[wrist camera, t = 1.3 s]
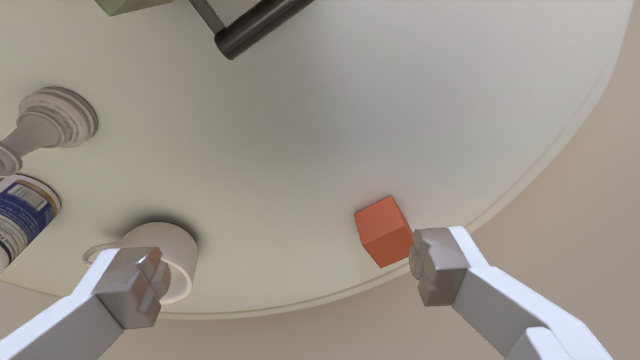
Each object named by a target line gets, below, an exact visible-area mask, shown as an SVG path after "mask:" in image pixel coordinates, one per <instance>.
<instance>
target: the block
mask: <svg viewBox="0 0 640 360" xmlns="http://www.w3.org/2000/svg"><path fill="white" fill-rule="evenodd" d="M354 216H355V220H356V224H357V228H358V232H359V236H360V240H361V244H362V246H363V247H364V248H365V249H366V251H367V252H368V253H369V254H370V256H371V257H372V258H373V259H374V261H375V262H376V263H377V265H378V266H379V267H380V268H383V267H385V266H388V265H390V264H392V263H395V262H397V261H399V260H402V259H404V258H406V257H409V255H408V254H409V248H410V247H411V246H412V245H413V244H414V242H413V239H412V235H413V233H412V231H411V229H410V227H409V225H408V222H407V220H406V219H405V217H404V215H403V214H402V212H401V210H400V209H399V207H398V205H397V204H396V202H395V200H394V199H393V197H392V196H389V197H387V198H385V199H383V200H381V201H379V202H377V203H375V204H373V205H371V206H369V207H367V208H365V209H363V210H361V211H359V212H357V213H355V214H354Z"/></svg>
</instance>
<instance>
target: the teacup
mask: <svg viewBox="0 0 640 360" xmlns="http://www.w3.org/2000/svg"><path fill="white" fill-rule="evenodd" d="M133 247H159V248H160V250H161V252H162V254H163V255H162V257H161V260H163V261H164V262H166V263H168V266H169V268H170V272H171V281H170V286H169V289H168V291H167V293H166V294H165V295H164V296H163V297H162V298H161V299H160V300H159V301H160V303H161V305H166V304H171V303H175V302H178V301H180V300H182V299H183V298H185V297H186V296H187V295H188V294H189V293H190V291H191V288H192V284H193V279H194V275H195V270H196V265H197V255H198V250H197V246H196V243H195V241H194V240H193V238H192V237H191V235H190V234H189V233H188V232H186V231H185V230H184V229H182V228H181V227H179V226H176V225H174V224H170V223H165V222H152V223H147V224H143V225H140V226H138V227H136V228H134V229H133V230H131V231H130V232H128V233H127V234H126V235H125V236H124V237H123V238H122V239H121V240H120V241H119V242H113V243H107V244H102V245H98V246H95V247H92V248H90V249H89V250H87V251H86V252H85V254H84V255H83V259H82V261H83V264H84V265H85V266H86V267H87V268H90V267H91V265H92V264H93V263H94V262H90V261H88V259H89V257H90V256H91V255H92V254H93V253H95V252H97V251H100V250H105V249H115V248H133Z"/></svg>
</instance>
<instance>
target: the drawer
mask: <svg viewBox="0 0 640 360" xmlns="http://www.w3.org/2000/svg"><path fill="white" fill-rule="evenodd" d="M95 1H96V2H97V4H98V5H99V6H100V7H101V8H102V9H103V10H104V11H105V12H106V13H107V14H108V15H109V16H115V15H119V14H123V13H127V12H132V11H136V10H140V9H144V8H149V7H153V6H157V5H161V4H166V3H170V2H173V1H174V0H95ZM189 1H190V2H191V4H192V5H193V6H194V7H195V9H196V10H197V11H198V13H199V14H200V15H201V17H202V18H203V19H204V21H205V22H206V23H207V25H208V26H209V27H210V29H211V30H212V31H213V33H214V34H215V37H214V41H215V43H216V45H217V47H218V48H219V50H220V51H221V53H222V54H223V55H224V56H225V57H226V58H227V59H229V60H233V59H235V58H236V57H237V56H239V55H240V54H241V53H243V52H244V51H246V50H247V49H248V48H250V47H251V46H252V45H254V44H255V43H257V42H258V41H259V40H261V39H262V38H264V37H265V36H266V35H268V34H269V33H270V32H272V31H273V30H275V29H276V28H277V27H279V26H280V25H282V24H283V23H284V22H286V21H287V20H288V19H290V18H291V17H293V16H294V15H295V14H297V13H298V12H299V11H301V10H302V9H304V8H305V7H306V6H308V5H309V4H311V3H312V2H313V1H315V0H261V1H260V2H259V3H257V4H256V5H255V6H253V7H252V8H251V9H250V10H248V11H247V12H246V13H244V14H243V15H242V16H240V17H239V18H238V19H236V20H235V21H234V22H233V23H231V24H230V25H229V26H227V27H226V26H225V25H224V23H223V22H222V21H221V19H220V18H219V17H218V15H217V14H216V12H215V11H214V10H213V8H212V7H211V5H210V4H209V3H208V1H207V0H189Z"/></svg>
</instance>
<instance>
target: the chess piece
mask: <svg viewBox="0 0 640 360" xmlns="http://www.w3.org/2000/svg"><path fill="white" fill-rule="evenodd" d="M97 124H98V123H97V118H96V116H95V114H94V112H93V110H92V108H91V107H90V106H89V105H88V103H86V102H85V101H84V100H83V99H82V98H81V97H79V96H77V95H76V94H74V93H73V92H70V91H68V90H65V89H62V88H56V87H46V88H43V89H40V90H38V91H35V92H34V93H32V94H31V95H29V96H27V97H25V98H24V99H23V100H22V101H21V104H20V106H19V116H18V118H17V120H16V125H17V128H16V129H15V130H14V131H13V132H12V133H11V134H10V135H9V136H8V137H6V138H5V139H3V140H2V141H0V176H11V175H14V174H15V173H17V172H18V171H19V170H21V168H22V160H21V157H22V156H24V155H25V154H27V153H29V152H32V151H34V150H36V149H38V148H41V147H43V148H56V147H61V148H71V147H76V146H79V145H80V144H82V143H83V142H84V141H86V140H88V139H89V138H90V137H92V136H93V135H94V133H95V132H96V130H97Z"/></svg>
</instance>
